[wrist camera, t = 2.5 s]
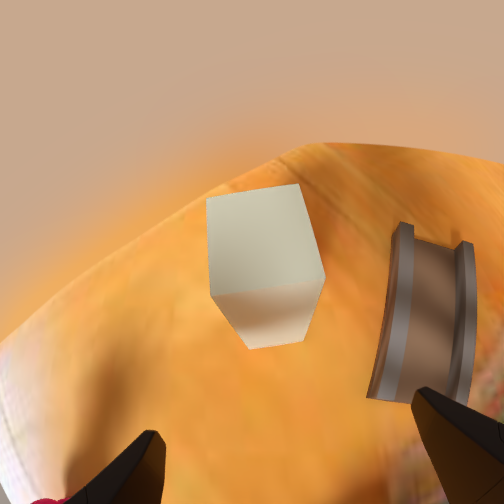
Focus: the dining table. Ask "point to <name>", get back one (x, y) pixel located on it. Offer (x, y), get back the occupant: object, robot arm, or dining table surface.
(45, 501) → the pepper mill
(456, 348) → the floor track
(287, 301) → the white rectangular block
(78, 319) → the dining table surface
